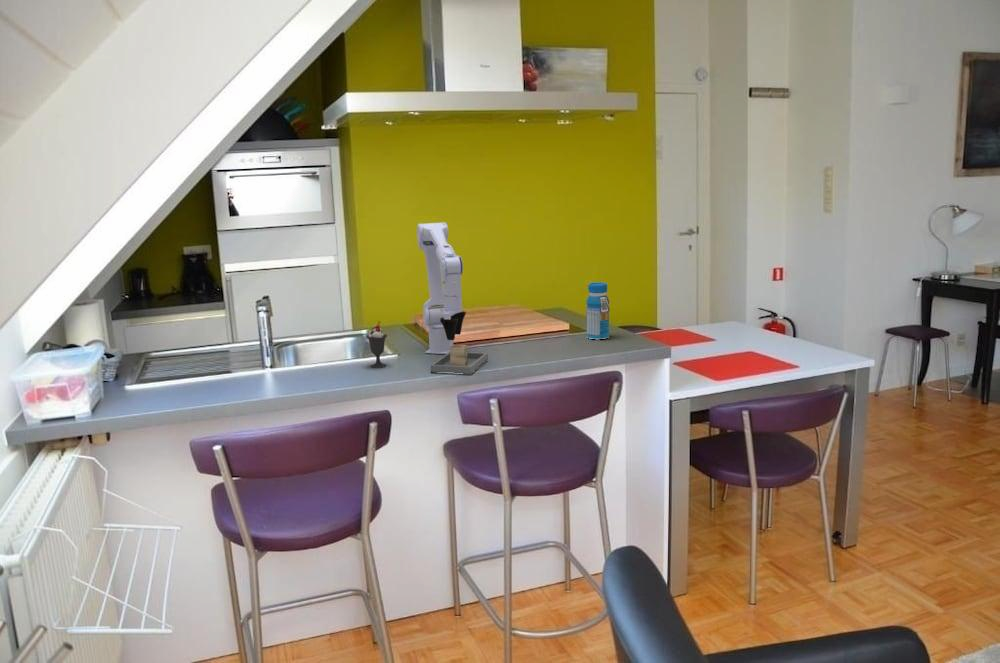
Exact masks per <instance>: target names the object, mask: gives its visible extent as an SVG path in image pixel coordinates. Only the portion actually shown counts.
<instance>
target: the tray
mask: <svg viewBox="0 0 1000 663" xmlns="http://www.w3.org/2000/svg"><path fill="white" fill-rule="evenodd" d="M488 354H489V353H488V352H474V351H473V352H468V351H467V364H466V366H451V362H450V352H449V353H447V354H443V356H442V357H440V358H439V359H438V360H436V361H434V362H433V363H432V364H431V365H430V373H431V372H454V373H463V374H466V375H465V376H472V375H473V374H474V373H473V371H474V370H476V369H477V368H478V367H479V366H481V365H482V364H483V363H484V362H486V361H487V360H488V361H489V355H488ZM488 361H487V362H488ZM487 362H486V363H487ZM484 364H485V363H484ZM484 364H483V365H484ZM483 365H482V366H483ZM482 366H481V367H482ZM477 370H478V369H477ZM477 370H476V371H477ZM472 373H473V374H472Z"/></svg>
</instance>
